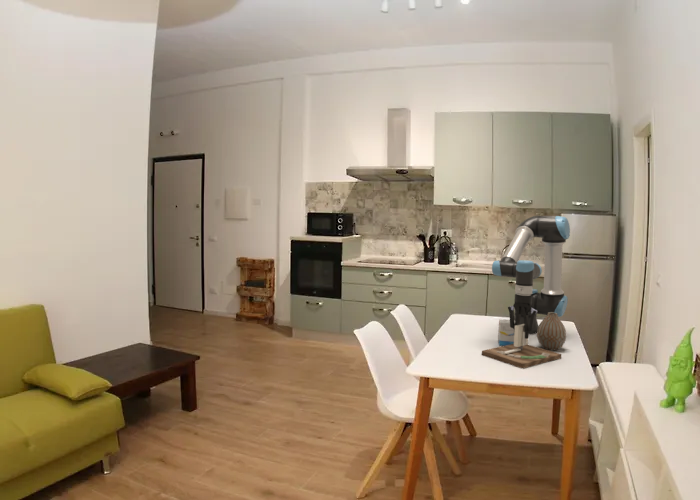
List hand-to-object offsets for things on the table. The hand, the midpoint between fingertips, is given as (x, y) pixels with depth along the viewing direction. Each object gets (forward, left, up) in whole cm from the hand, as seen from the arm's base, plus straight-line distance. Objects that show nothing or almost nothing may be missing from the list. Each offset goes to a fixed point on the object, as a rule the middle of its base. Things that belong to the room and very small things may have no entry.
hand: (520, 344), depth 223 cm
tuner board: (+2, +2, -5) cm, 6 cm away
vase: (-23, +1, -5) cm, 23 cm away
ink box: (-10, -15, -5) cm, 19 cm away
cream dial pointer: (+4, 0, -3) cm, 5 cm away
